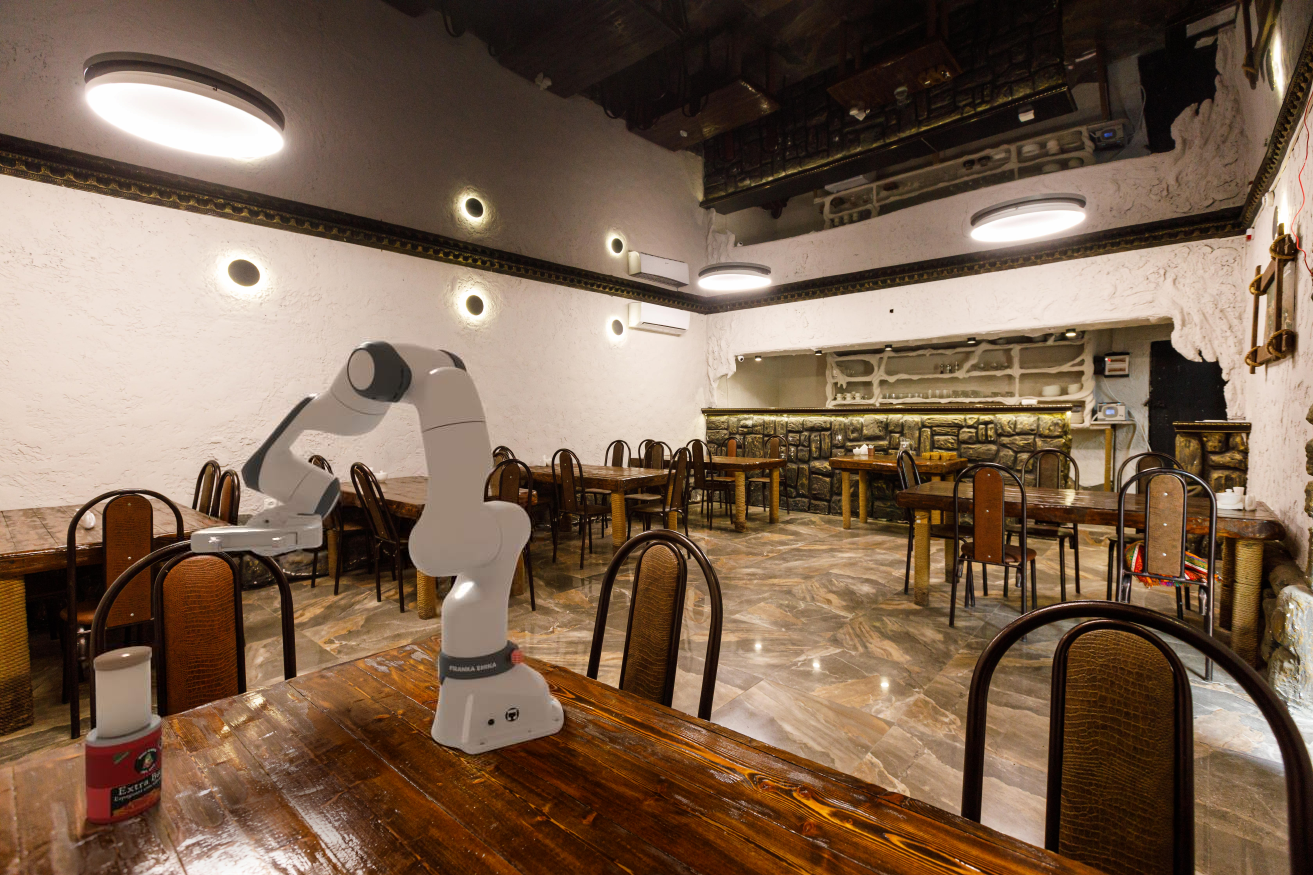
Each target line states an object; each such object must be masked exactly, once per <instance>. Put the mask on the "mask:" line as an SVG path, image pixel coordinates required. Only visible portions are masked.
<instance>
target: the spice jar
mask: <svg viewBox="0 0 1313 875" xmlns="http://www.w3.org/2000/svg"><path fill="white" fill-rule="evenodd" d="M152 653H153V652H152V647H150V646H147V645H146V646H145V645H142V646H141V645H140V646H139V645H138V646H130V647H124V648H118V649H114V650H111V651H107V652H105V653H103V654H100V655H98V656H97V657H95V658H94V659H93V669H94V671H95V716H96V717H95V719H96V727H97V736H99V737H115V736H120V735H124V734H128V733H131V732H134V731H136V730H139V729H141V728H143V727H145V726H146V725H148V724H149V723H150V722H151V714H152V690H151V689H152V687H151V686H152V685H151V684H152V679H151V678H152V677H151V673H152V672H151V658H152V655H153V654H152Z"/></svg>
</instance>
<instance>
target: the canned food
mask: <svg viewBox="0 0 1313 875" xmlns="http://www.w3.org/2000/svg"><path fill="white" fill-rule="evenodd" d="M162 725H163V724H162V718H161V716H160V715H158V714H154V713H151V722H150V723H149V724H148V725H146V726H145V727H143V728H141V729H139V730H136V731H134V732H131V733H128V734H124V735H120V736H115V737H99V736H97V726H96V727H95V728H93V729H91V730H90V731H89V732H88V733H87V734H86V736H85V744H84V745H85V749H84V754H85V756H84V758H85V759H84V760H85V761H84V762H85V764H84V766H85V770H84V772H85V814H86V816H87V819H88V821H89V822H91V823H94V824H110V823H111V824H112V823H117V822H120V821H123V820H126V819H129V818H132V817H134V816H137V815H139V814H141V813H142V812H144V811H146V810H148V809H149V808H151V807H152V806H153V805H154V804H155V803H157V802H158V800H159V798H160V796H161V793H162V786H163V785H162V779H163V777H162V775H163V774H162V773H163V770H162V769H163V767H162V766H163V763H162V761H163V759H162V758H163V757H162V756H163V754H162V751H163V750H162V749H163V747H162V746H163V739H162V738H163V735H162V734H163V730H162V729H163V728H162V727H163V726H162Z"/></svg>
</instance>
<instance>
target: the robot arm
mask: <svg viewBox="0 0 1313 875" xmlns="http://www.w3.org/2000/svg"><path fill="white" fill-rule="evenodd" d="M398 403H400V404H407V405H413V406H414V407H415V408H416V410H417V414H418V419H419V426H420V430H421V431H420V432H421V437H422V443H423V449H424V455H425V460H426V462H425V463H426V469H427V474H428V475H427V478H428V480H427V481H428V482H427V492H426V498H425V500H426V501H425V504H424V507H423V508H424V509H423V510H422V514H421V516H420V518H419V520H418V521H417V522H416V523H415V525H414V526H413V528H412V529H411V531H410V535H409V539H408V552H409V557H410V559H411V561H412V563H413V566H415V568H416V569H417V570H418V571H420V572H421V573H422V574H423V575H427V576H429V577H434V578H435V577H436V578H437V577H452V576H456V579H455V582H454V584H453V585H452V588H451V589H450V591H449V592H448V593H447V595H446V596H445V598H444V600H443V602H442V606H441V646H440V648H439V651H438V656H437V678H438V683H439V693H438V699H437V700H438V701H437V707H436V713H435V717H434V720H433V724H432V726H431V730H430V733H431V737H432V738H433V739H434V740H435V741H436V742H437V743H439V744H440V745H443V746H448V747H452V748H456V749H460V750H461V751H463V752H464V753H466V754H469V755H475V754H476V755H477V754H481V753H484V752H489V751H492V750H496V749H501V748H503V747H508V746H511V745H515V744H519V743H523V742H527V741H531V740H534V739H538V738H542V737H546V736H550V735H553V734H556V733H559V731H560V730H561V729H562V727H563V725H564V721H565V718H564V710H563V707H562V704H561V702H560V701H559V700H558V698H556V697H555V696H554V695H552V694H551V692H550V688H549V685H548V683H547V680H546V679H545V677H544V676H543V675H542V674H541V673H540V672H539V671H537V670H535V669H534V668H532V667H530V666H529V665H526V664H525V663H524V662H523V661H524V655H523V652H522V650H520V648H519V645H518V644H517V642H516V640H515V639H512V640H509V639H508V615H509V611H508V610H509V599H510V592H511V588H512V583H513V580H514V576H515V575H514V574H515V572H516V568H517V564H518V561H519V557H520V556H521V552H522V551H523V549H524V548H525V546H526V544H527V542H528V541H529V539H530V536H531V531H532V525H531V524H532V523H531V519H530V517H529V515H528V513H527V511H526V510H525V509H524V508H523V507H521V506H520V505H518V504H517V503H514V502H513V503H512V502H508V501H501V500H492V501H484V500H485V499H484V496H485V487H486V482H487V478H488V476H489V475H490V474H491V473H492V471H493V469H494V468H493V467H494V466H495V464H494V462H495V460H494V456H493V452H492V446H491V442H490V436H489V430H488V426H487V421H486V416H485V411H484V408H483V404H482V401H481V397H480V395H479V392H478V389H477V388H476V384H475V383H474V380H473V377H472V376H471V375H470V374H469V373H468V372H467V366H466V364H465V363H464V361H463V360H462V358H461V357H459V356H458V355H456V354H454V353H453V352H450V351H448V350H444V349H441V348H440V349H435V348H432V347H431V348H430V347H426V346H421V345H417V344H416V343H415V344H414V343H406V342H387V341H384V340H372V341H366V342H362V343H360V344H359V345H357V346H356V347H355V348H354V349H353V350H352V352H351V354H350V355H349V358H348V359H347V360H346V361H345V363H344V364H343V365H342V366H341V368H340V370H339V371H338V373H337V375H336V376H335V378H334V380H333V381H332V383H331V385H330V387H329V388H328V389H327V390H325V391H324V392H323V393H310V394H309V395H306V396H305V397H303V399H301V400H300V401H299V402H298V403H297V404H295V405H294V407H293V408H292V409H291V410H290V411H289V412H288V413H287V415H286V416H285V417H284V418H283V419H282V421H280V423H279V424H278V425H277V426H276V428H275V429H274V430H273V431H272V433H271V434H270V435H269V436H268V437H267V438H266V440H265V441H264V442H263V444H262V445H260V447H259V448H257V449H256V450H255V451H253V453H251V455H249V457H248V458H247V459H246V460H245V462H244V464H242V468H241V470H240V472H241V478H242V480H243V483H244V485H245V487H246V488H248V489H250V490H253V491H256V492H258V493H261V494H263V495H266V496H268V497H270V498H272V499H273V500H275V501H277V502H280V503H282V504H280V505H277V506H274V507H272V508H269V509H266V510H263V511H261V512H257V513H256V514H254V515H253V516H252V517H250V518H249V519H248V520H247V522H246V523H245V525H230V526H229V525H228V526H226V525H225V526H215V527H208V528H205V529H201V530H196V531H193V532H192V533H191V535H190V549H191V551H192V552H194V553H213V552H232V551H233V552H234V551H237V552H238V551H252V552H253V553H255V554H257V555H259V556H264V557H270V556H271V557H272V556H277V555H280V554H282V553H284V554H285V553H288V552H291V551H295V550H297V551H298V550H303V549H304V550H305V549H313V548H318V547H321V546H322V544H323V522H324V521H325V520H326V519H327V518H328V517H329V516H330V514H331V513H332V511H334V509H335V508H336V506H337V505H338V504H337V503H338V502H339V501H340V498H341V495H342V488H341V481H340V480H339V478H338V476H335V475H334V474H332V473H331V472H328V471H327V470H325V469H322V468H321V467H319V466H317V465H315V464H313V463H312V462H309V461H307V460H305V459H304V458H301V457H300V456H298V455H296V454H295V453H294V452H293V451H292V450H291V449H290V448H291V447H292V446H293V444H294V443H295V442H296V441H297V440H298V439H299V437H300V436H301V435H302V434H303V433H304V431H318V432H323V433H328V434H331V435H336V436H340V437H357V436H362V435H366V434H369V433H370V432H372V431H373V430H375V429H376V428H377V427H378V425H380V423H381V422H382V421H383V419H384V418H385V416H386V415H387V413H388V411H389V410H390V408H391V406H392V404H398Z"/></svg>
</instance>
